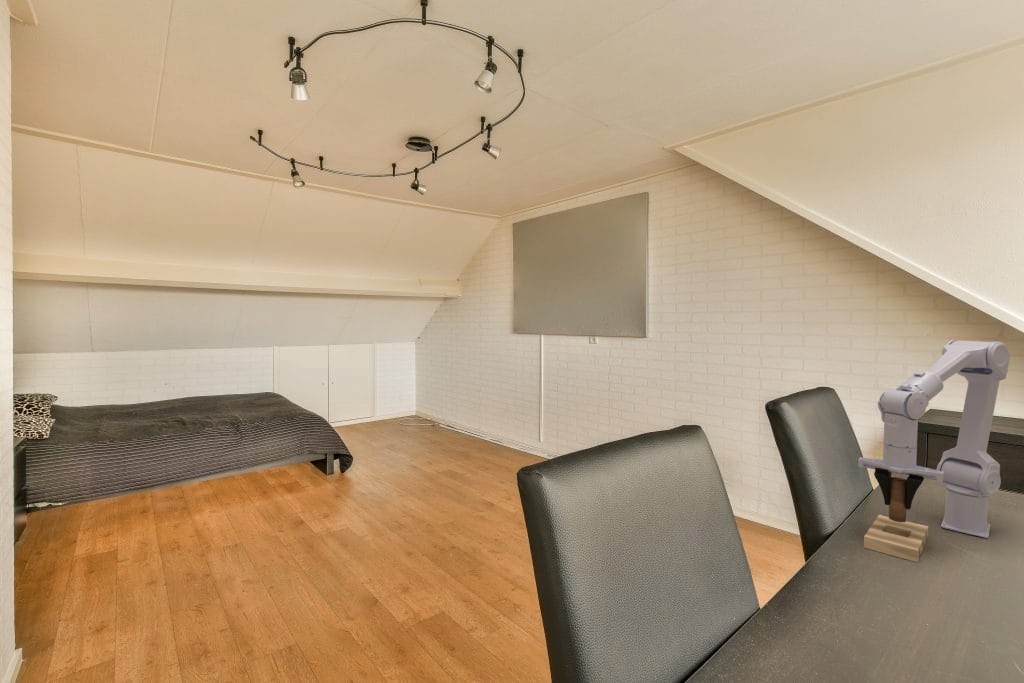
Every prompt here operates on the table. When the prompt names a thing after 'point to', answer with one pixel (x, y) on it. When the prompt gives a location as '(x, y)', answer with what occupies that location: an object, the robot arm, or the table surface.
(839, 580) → the table surface
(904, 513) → the peg
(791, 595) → the table surface
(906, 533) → the socket block
